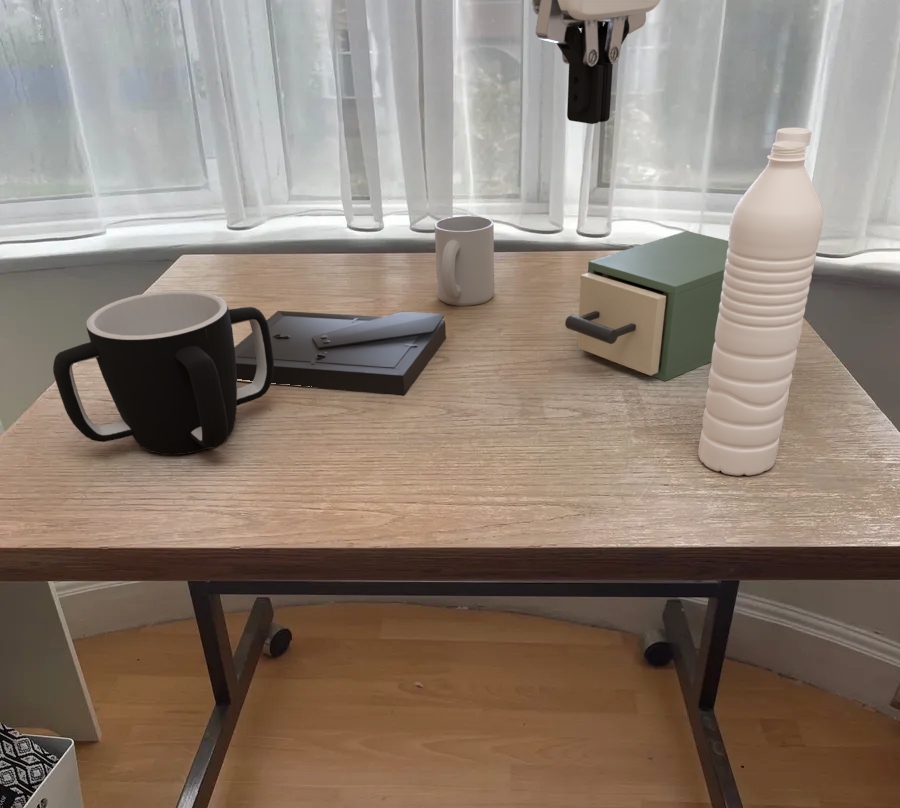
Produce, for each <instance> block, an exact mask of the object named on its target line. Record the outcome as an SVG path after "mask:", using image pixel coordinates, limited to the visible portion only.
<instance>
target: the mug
mask: <svg viewBox="0 0 900 808" xmlns="http://www.w3.org/2000/svg"><path fill="white" fill-rule="evenodd" d="M267 320H268V319H267V318H266V316H265V315H264V314H263V313H262V311H261V310H260V309H258V308H256V307H254V306H245V307H238V308H229V305H228V303H227V302H226V301H225V300H224V299H223V298H221V297H220V296H218V295H216V294H213V293H208V292H204V291H196V290H163V291H154V292H147V293H142V294H137V295H136V294H135V295H133V296H129V297H126V298H122V299H119V300H116V301H113V302H110V303H108V304H106V305H104V306H102V307H101V308H99V309H97V310H95V311H94V312H93V313H92V314H91V315H90V316H89V317H88V318H87V320H86V324H85V326H86V330H87V334H88V338H89V342H86V343H81V344H78V345H76V346H73V347H70V348H68V349H65V350H62V351H59V352H58V353H57V354H56V355H55V357H54V360H53V366H52V372H53V376H54V380H55V382H56V383H55V384H56V386H57V389H58V390H57V391H58V393H59V396H60V398H61V401H62V404H63V407H64V410H65V412H66V415H67V416H68V418H69V420H70V421H71V423H72V424H73V425H74V427H75V428H76V429H77V430H78V431H79V432H80V433H81V435H83V436H84V437H85V438H87V439H89V440H90V441H94V442H101V443H105V442H110V441H111V442H112V441H116V440H120V439H124V438H129V437H133V439H134V440H135V442H136V443H137V444H138V445H139V447H141V448H143V449H144V450H146V451H148V452H151V453H155V454H160V455H185V454H192V453H197V452H200V451H203V450H207V449H213V448H217V447H220V446H222V445H223V444H224V443H225V442H226V441H228V437H229V436H230V435H231V433H232V432H233V430H234V428H235V423H236V419H237V407H238V406H240V405H244V404H247V403H249V402H252V401H255V400H258V399H260V398H261V397H263V396H264V395H266V393H267V392H268V390H269V389H270V387H271V385H272V384H271V381H272V377H273V371H274V359H273V350H272V343H271V337H270V331H269V327H268V322H267ZM246 322H249V325H250V330H251V333H253V338H254V343H255V351H256V360H257V370H256V375H255V378H254V380H253V382H252V383H249V384H247V385H245V386H241V387H238V382H237V379H236V356H235V348H234V347H235V340H234V332H233V331H234V330H233V325H236V324H240V323H246ZM93 359H95V360H96V362H97V365H98V367H99V369H100V372H101V376H102V378H103V381H104V382H105V385H106V388H107V389H108V391H109V393H110V396H111V398H112V401H113V403H114V405H115V408H116V409H117V412H118V413H119V415H120V417H121V419H122V420H120V421H116V422H111V423H108V424H102V425H98V424H96V423H94V422H93V421H92V420H91V419H90V417H89V416H88V414H87V413H86V409H85V408H84V406H83V402H82V400H81V397H80V394H79V391H78V387H77V384H76V381H75V377H74V376H75V375H74V371H73V366H74V364H77V363H80V362H81V363H82V362H85V361H89V360H93Z"/></svg>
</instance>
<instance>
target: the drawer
mask: <svg viewBox="0 0 900 808" xmlns="http://www.w3.org/2000/svg"><path fill="white" fill-rule="evenodd" d="M579 283H580V284H579V301H578V303H579V304H578V305H579V306H578V316H577V315H574V314H570V315H568V316H567V317H566V319H565V321H564V323H565V324H564V325H565V327H566V329H568V330H571V331H574V332H576V333H577V349H580V350H582V351H585V352H587V353H590V354H592V355H594V356H598V357H599V358H603V359H606V360H608V361H610V362H613V363H616V364H618V365H621V366H623V367H626V368H629V369H632V370H634V371H637V372H640V373H642V374H644V375H648V376H651V375H653V374H656V373H658V368H659V363H660V364H661V359H662V350H663V341H664V331H665V322H666V313H667V303H668V294H669V293H667V292H663V295H661V294H657V293H654V292H651V291H647V290H644V289H647V288H650V287H647V286H644V285H640V284H637V283H634V282H630V281H627V280H624V279H620V278H617V277H614V276H610V275H607V274H604V273H602V277H601V276H598V275H595V274H591V273H588V272H587V273H583V274H580V281H579ZM651 377H652V376H651Z"/></svg>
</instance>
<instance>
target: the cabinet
mask: <svg viewBox="0 0 900 808" xmlns="http://www.w3.org/2000/svg"><path fill="white" fill-rule="evenodd" d="M728 241H729V240H727V239H722V238H718V237H713V236H710V235H705V234H702V233H697V232H694V231H689V230H685V231H682V232H679V233H675V234H673V235H669V236H666V237H662V238H659V239H656V240H653V241H650V242H645V243H644V244H639V245H637V246H634V247H631V248H627V249H624V250H621V251H618V252H614V253H611V254H608V255H604V256H602V257H598V258H595V259H592V260H589V261H588V262H587V263H588V266H587V273H591V274H595V275H598V276H601V277H602V273H604V274H607V275H610V276H614V277H617V278H620V279H624V280H627V281H630V282H634V283H637V284H640V285H644V286H647V287H650V288H654V289H657V290H660V291H664V292H667V293H669V294H668V303H667V313H666V322H665V331H664V341H663V350H662V359H661V364H660V363H659V368H658V373H656V374H653V375H651V377H653V378H656V379H658V380H661V381H664V382H667V381H669V380H671V379H674V378H677V377H679V376H682V375H684V374H686V373H688V372H690V371H693V370H695V369H697V368H700V367H702V366H705V365H707V364H709V363H712V352H713V346H714V343H715V341H716V340H715V330H716V324H717V318H718V313H719V305H720V301H721V292H722V284H723V280H724V271H725V262H726V259H727V249H728V247H729V246H728Z"/></svg>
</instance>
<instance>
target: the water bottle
mask: <svg viewBox="0 0 900 808" xmlns="http://www.w3.org/2000/svg"><path fill="white" fill-rule="evenodd" d="M812 133H813V131H812V129H809V128H806V127H805V128H804V127H783V128H779V129H776V132H775V138H774V139H775V140H774V142H773V143H772V144H771V146H772V147H771V150H770V154H768V155H767V156H766V158H767V159H768V163H767V165H766V166H765V168H763V170H762V171H761V173H760V174H759V175H758V176H757V178H756V179H755V180H754V181H753V182H752V184H751V185H750V186H749V188H747V189H746V191H745V193H744V194H743V195H742V196H741V197H740V199H739V201H738V202H737V203H736V206H735V207H734V209H733V212H732V215H731V218H730V223H729V231H728V240H727V241H728V246H729V247H728V249H727V259H726V262H725V271H724V280H723V284H722V292H721V301H720V305H719V313H718V318H717V324H716V330H715V340H716V341H715V343H714V346H713V352H712V361H711V366H710V369H709V374H708V382H707V383H708V384H707V385H708V388H707V391H706V395H705V408H704V412H703V416H702V429H701V432H700V436H699V443H698V452H697V453H698V459H699V460H700V461H701V463H703V465H705V467H707V468H708V469H710V470H712V471H715V472H720V471H721V473H722V474H724V475H729V476H743V475H745V476H756V475H760V474H762V473H764V472H767V471H769V470H770V469H771V468H772V467H774V465H775V463H776V460H777V456H778V451H779V445H780V435H781V433H782V431H783V430H782V429H783V425H784V420H785V419H784V417H785V415H784V414H785V411H786V408H787V404H788V400H789V395H790V386H791V384H792V380H793V371H794V368H795V364H796V360H797V354H798V348H797V347H798V346H799V343H800V339H801V336H802V329H803V322H804V316H805V313H806V305H807V302H808V296H809V292H810V284H811V282H812V278H813V277H812V273H813V271H814V267H815V261H816V257H817V250H818V247H819V243H820V239H821V235H822V230H823V225H824V210H823V205H822V203H821V200H820V197H819V195H818V193H817V190H816V188H815V187H814V184H813V181H812V180H811V178H810V176H809V174H808V171H807V169H806V167H805V162H806V160H808V155H806V153H807V152H806V151H807V147H808V146H810V143H811V137H812Z"/></svg>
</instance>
